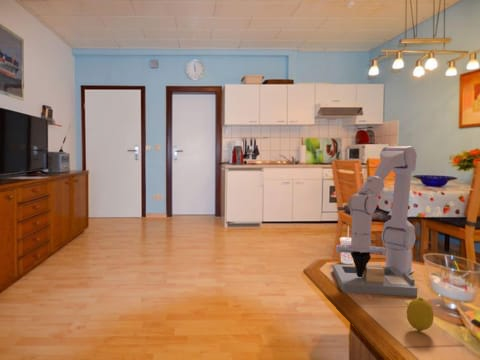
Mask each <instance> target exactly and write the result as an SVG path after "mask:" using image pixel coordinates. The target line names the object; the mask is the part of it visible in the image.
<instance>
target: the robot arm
mask: <svg viewBox="0 0 480 360" xmlns="http://www.w3.org/2000/svg"><path fill="white" fill-rule="evenodd" d="M417 157H418V155H417V152H416V150H415V148H414V147H413V146H412V145H409V146H388V145H385V146H384V147H383V148H382V149H381V151H380V155H379V158H380V159H379V160H380V161H379V162H378V165H377V167H376V169H375V172H374V173H373V174H372V175H370V176H368V177H367V178H366V180H365V181H364V183H363V184H362V186H361V187H360V188H359V191H358V192H357V193H354V194H353V195H351V196H350V198H349V200H348V202H347V203H348V204H347V205H348V208H349V209H348V210H349V211H350V215H349V216H350V217H351V233H350V235H351V237H350V238H351V245H340V244H336V246H335V247H336V248H335V251H336V253H337V254H339V253H340V254H341V252H345V253H351V255H352V258H353V260H354V261H353V264H354V265H355V267H356V273H357V276H358V277H362V276H363V272H364V269H365V267H366V265H367V264H369V261H370V260H371V258H372V257H371V255H383V256H385V267H393V268H397V269H398V270H399V271H400V272H401V273H402V274H403V272H404V273H407V274H408V275H411V273H414V272H415V270H414V269H412V266H413V265H412V263H413V262H412V260H413V253H412V250H411V249H412V248H413V247H414V246H415V243H416V240H417V239H416V237H417V236H416V229H415V228H416V226H414V225H413V224H412V223H411V222H410V221H409V220H408V214H409V213H408V212H409V201H410V200H409V199H410V191H411V180H412V172H414V171H415V170H416V166H417V165H416V163H417ZM391 172H393V173H394V184H393V196H392V205H391V207H392V208H391V216H390V217H391V218H390V219H389V220H386V222H384V223H383V229H382V230H381V234H380V236H381V237H380V238H381V241H382V244H384V246H385V247H386V248H385V247H384V246H375V245H372V242H371V240H372V224H373V223H372V220H373V219H372V217H373V213H374V212H375V211H376V210H377V209H376V208H377V206H378V205H377V204H378V201H379V199H378V197H379V196H380V195H381V193H382V191H383V190H384V188H385V183H384V181H385V180H386V178H387V177H388V176H389V175H390V173H391Z"/></svg>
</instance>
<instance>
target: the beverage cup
mask: <svg viewBox="0 0 480 360" xmlns="http://www.w3.org/2000/svg"><path fill="white" fill-rule="evenodd" d="M349 233H350V226H349V225H347V236H343V237H339V241H340V244H339V245H351V237H349V236H350V234H349ZM340 262H341V263H342V264H344V265H353V264H354V260H353V258H352V255H351V253H345V252H340Z"/></svg>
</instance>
